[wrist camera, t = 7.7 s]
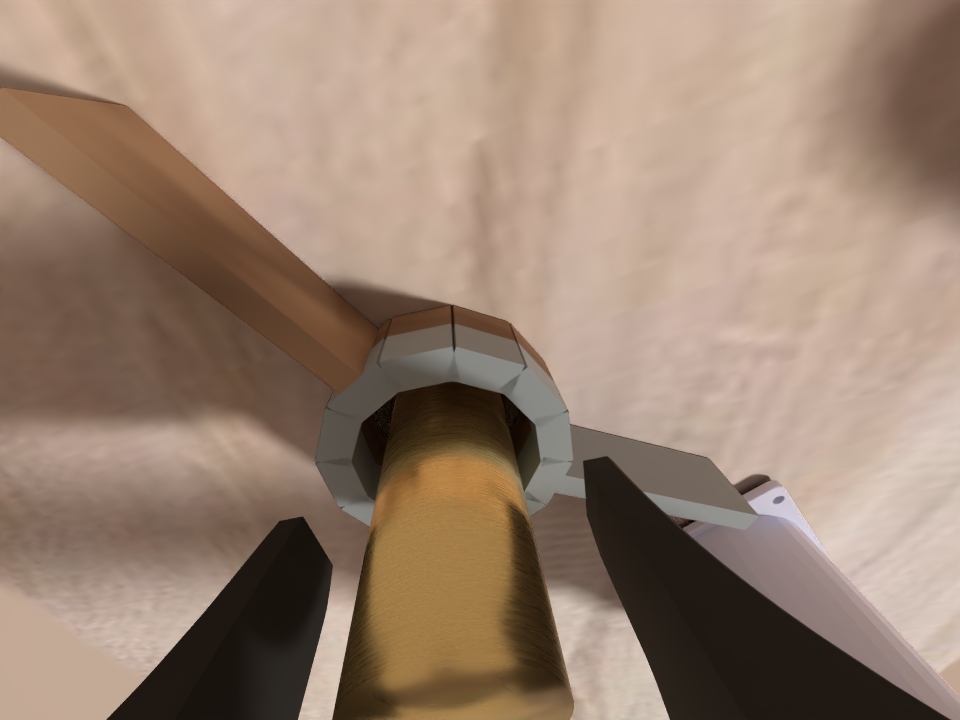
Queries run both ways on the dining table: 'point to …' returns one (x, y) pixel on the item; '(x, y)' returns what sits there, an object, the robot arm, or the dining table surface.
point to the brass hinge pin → (452, 576)
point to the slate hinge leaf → (548, 449)
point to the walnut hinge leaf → (215, 239)
